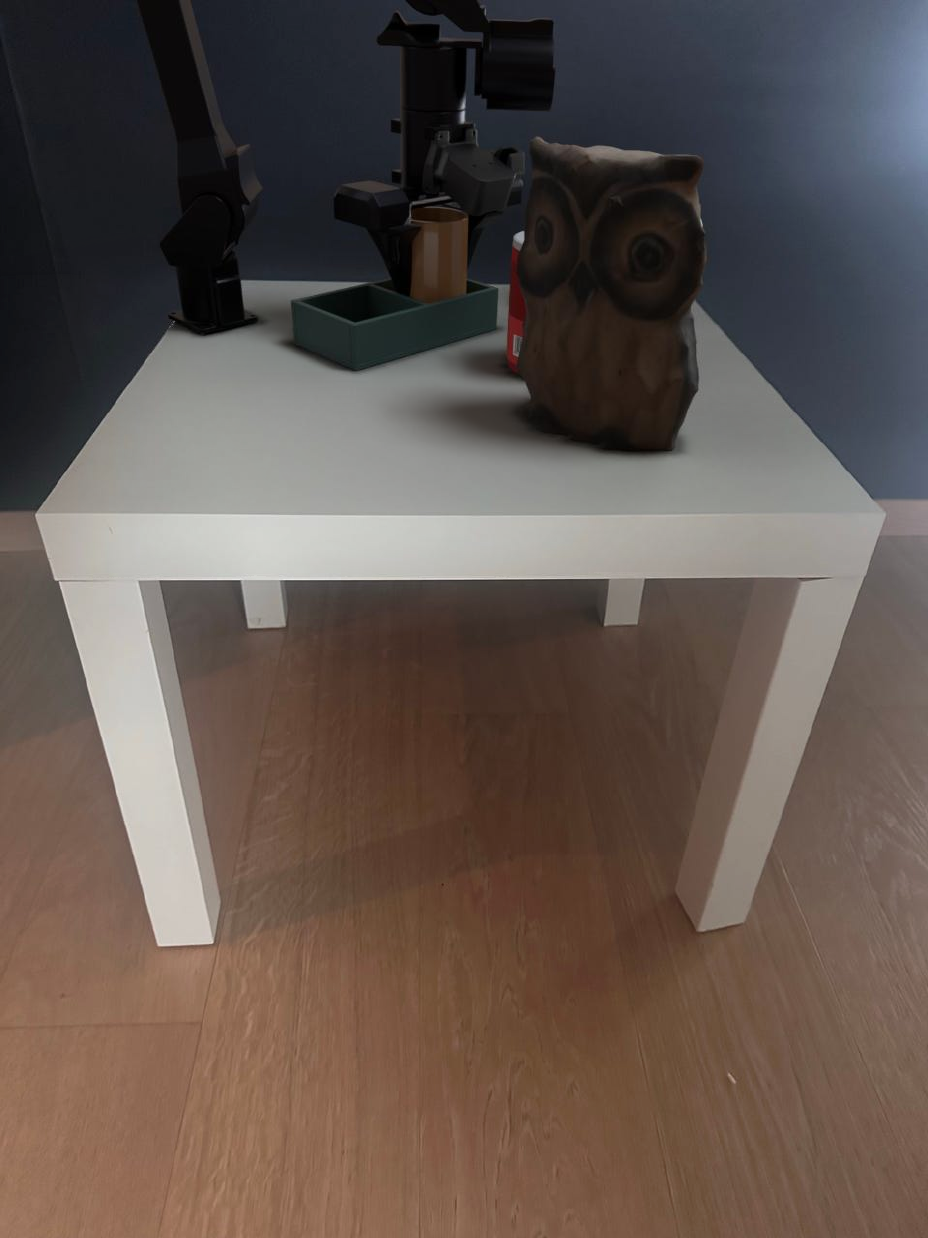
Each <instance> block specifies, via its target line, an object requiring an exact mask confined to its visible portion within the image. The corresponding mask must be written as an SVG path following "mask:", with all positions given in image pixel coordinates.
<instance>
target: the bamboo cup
mask: <svg viewBox="0 0 928 1238" xmlns="http://www.w3.org/2000/svg"><path fill="white" fill-rule="evenodd" d="M411 224H413V225H417V226H420V227H421V230H420V231H419V233H418V234H417V236H416V237H415V239H414V240H413V242H412V274H411V290H410V297H411V298H414V299H417V300H420V301H422V302H425V303H428V304H430V303H434V302H438V301H441V300H445V299H449V298H453V297H457V296H461V295H465V294H466V281H467V278H468V277H467V276H468V275H467V274H468V270H467V248H468V214H467V213H465V212H464V211H461V210H457V209H452V208H444V207H442V206H430V207H424V208H418V209H413V210H411Z"/></svg>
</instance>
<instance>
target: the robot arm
mask: <svg viewBox="0 0 928 1238" xmlns="http://www.w3.org/2000/svg"><path fill="white" fill-rule="evenodd" d="M404 1H405V2H406V3H407V4H408V5H409V6H410V7H411V8H412V9H413V10H415V11H416V12H418V13H420V14H421V15H425V16H430V17H436V16H437V17H438V16H441V15H443V16H444V17H446V18H447V19H448V20H449V21H450V22H451V23H453V24H454V25H455V26H456V27H457V28H459V29H460V30H461V31H462V32H464V33H482V39H480V38H455V37H442V34H441V32H442V31H441V28H442V27H441V23H437V22H436V23H434V22H429V23H428V22H407V21H406V19H405V18H404V17H403V15H402V14H401V12H400V11H398V10H395V11H393V13H392V15H391V18H390V20H389V21H388V24H387V25H386V27H385V28H384V29H383V30H382V31H381V32H379V34H378V35H377V36H376V37H375V42H376V44H377V45H378V46H383V47H398V49H399V118H390V133H394V134H399V141H400V142H399V145H400V147H399V148H400V150H399V151H400V153H399V155H400V168H399V169H398V168H397V169H391V171H390V175H391V177H390V178H391V183H393V184H396V185H400V187H398V186H394V185H390V184H387V183H382V182H379V181H375V180H363V181H357V182H351V183H343V184H339V187H338V188H337V189H336V191H335V193H334V194H333V218H334V220H338V221H341V222H345V223H348V224H350V225H353V226H358V227H360V228H364V229H365V230H366V231H367V232H366V233H368V235H369V237H370V239H371V240H372V243H373V244H374V246H375V248H376V249H377V251H378V253H379V255H380V257H381V259H382V261H383V264H384V265H385V268H386V270H387V272H388V274H389V278H391V279H392V281H393V283H394V286H395V288H396V290H397V292H398V293H400V294H402V295H405V296H408V297H410V290H411V274H412V242H413V240H414V239H415V237H416V236H417V234H418V233H419V231H420V230H421V227H420V226H417V225H413V224H411V210H413V209H418V208H424V207H436V206H440V205H441V207H444V208H452V209H457V210H461V211H464V212H465V213H467V214H468V248H467V271H468V270H469V267H470V266H471V265H470V264H471V262H472V259H473V256H474V253H475V251H476V248H477V245H478V242H479V240H480V238H481V236H482V233H483V232H484V230H485V228H486V227H487V226H489V225H490V224H491V223H492V222H493V221H494V220H495V219H497V218H498V217H502V216H503V214H504V212H505V210H506V207H511V206H516V205H521V204H522V195H523V187H524V183H523V181H524V178H525V172H526V171H525V169H526V168H525V152H524V151H523V150H521V149H520V148H519V147H518V146H516V145H515V144H513V145H506V146H501V147H499V148H497V150H496V151H495V150H494V149H486V150H485V149H483V148H481V147H480V146H479V144H478V130H477V128H476V123H475V122H471V121H466V114H467V113H466V108H467V107H466V106H467V74H468V72H467V71H468V69H467V68H468V50H469V49H471V50H472V49H473V50H475V51H474V76H473V77H474V78H473V80H474V81H473V96H474V97H480V96H481V97H480V98H481V100H485V109H486V110H488V111H516V112H546V113H549V112H551V110H552V105H553V100H554V91H555V78H556V66H555V65H554V52H555V43H554V42H555V40H554V34H555V33H554V32H555V21H554V20H553V19H552V18H550V17H549V18H548V17H535V18H532V19H527V20H526V19H525V20H524V19H523V20H522V19H499V18H497V19H495V18H493V19H492V18H491V19H489V18H488V16H487V14H486V11H487V7H486V5H485V4H482V5H480V3H479V1H478V0H404ZM135 4H136V7H137V10H138V11H137V12H138V14H139V17H140V21H141V25H142V29H143V30H144V34H145V39H146V41H147V45H148V48H149V52H150V55H151V59H152V62H153V65H154V68H155V72H156V77H157V79H158V83H159V85H160V89H161V93H162V96H163V99H164V103H165V106H166V109H167V113H168V117H169V120H170V123H171V126H172V131H173V133H174V140H175V182H176V189H177V197H178V204H179V210H180V215H181V216H180V217H179V219H178V220H177V221H176V222H175V223H174V225H173V226H172V227H171V228H170V229H169V230H168V231H167V233H166V234H165V235H164V236H163V238H161V240H160V241H159V248H160V250H161V251H162V254H163V255H164V257H165V258H166V261H167V263H168V265H169V266H170V267H175V273H176V279H177V287H178V292H179V299H180V306H181V309H179V310H174V311H170V312H168V313H167V316H168V319H170V320H172V322H173V321H174V322H176V323H178V324H179V325H181V326H184V327H187V328H188V329H190V330H193V331H195V332H197V333H198V334H209V333H213V332H217V331H221V330H226V329H229V328H234V327H238V326H242V325H246V324H250V323H251V324H252V323H255V322H258V321H259V315H257V314H256V313H253V312H251V311H248V310H247V309H245V306H244V305H245V303H244V297H243V296H244V295H243V288H242V278H241V276H240V275H241V274H240V266H239V258H238V257H237V253H236V252H235V251H234V250H233V249H234V248H235V247H237V246H238V245H239V243H240V239H241V236H242V235H243V234H244V233H245V231H246V230H247V229H248V228H249V226H250V225H251V224H252V223H253V221H254V220H255V217H256V216H257V213H258V211H259V195H261V193H262V192H263V191H264V187H263V186H262V184H261V183H260V181H259V180H258V178H257V177H258V176H257V175H256V174H257V173H256V172H255V165H254V156H253V149H252V145H251V144H249V143H247V144H245V145H241V146H238V147H236V145H235V143H234V141H233V140H232V138H231V136H230V135H229V133H228V131H227V129H226V127H225V125H224V122H223V120H222V115H221V112H220V108H219V103H218V99H217V96H216V92H215V88H214V85H213V81H212V77H211V74H210V69H209V65H208V63H207V59H206V55H205V51H204V48H203V43H202V39H201V35H200V31H199V28H198V24H197V20H196V17H195V13H194V10H193V6H192V2H191V0H135Z"/></svg>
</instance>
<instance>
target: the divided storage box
mask: <svg viewBox="0 0 928 1238" xmlns="http://www.w3.org/2000/svg"><path fill="white" fill-rule="evenodd" d="M498 306H499V288H498V287H495V286H494V285H491V284H487V283H484V282H481V281H477V280H474V279H471V278H468V277H467V281H466V294H465V295H461V296H457V297H453V298H449V299H445V300H441V301H438V302H434V303H430V304H428V303H425V302H422V301H420V300H417V299H414V298H411V297H408V296H405V295H402V294H400V293H398V292H397V290H396V288H395V286H394V283H393V281H392V279H391V277H388V278H384V279H379V280H375V281H371V282H366V283H361V284H357V285H353V286H349V287H344V288H339V289H335V290H331V291H326V292H322V293H316V294H313V295H309V296H305V297H300V298H296V299H292V300H290V307H291V308H290V309H291V310H290V311H291V322H292V335H293V344H294V345H296V346H299V347H301V348H303V349H305V350H307V351H310V352H312V353H314V354H317V355H319V356H321V357H324V358H326V359H328V360H330V361H333V362H335V363H338V364H340V365H342V366H344V367H347V368H348V369H351V370H354V371H360V370H363V369H367V368H371V367H373V366H377V365H380V364H383V363H387V362H391V361H394V360H398V359H400V358H401V359H402V358H404V357H406V356H411V355H413V354H417V353H420V352H421V353H422V352H424V351H428V350H430V349H433V348H434V349H435V348H437V347H441V346H444V345H449V344H450V343H454V342H455V343H456V342H458V341H461V340H464V339H468V338H472V337H474V336H477V335H478V336H479V335H482V334H484V333H488V332H491V331H494V330H497V329H498V328H497V326H498V324H497V323H498Z"/></svg>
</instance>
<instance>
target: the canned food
mask: <svg viewBox="0 0 928 1238" xmlns="http://www.w3.org/2000/svg"><path fill="white" fill-rule="evenodd" d="M523 242H524V230H522V231H520V232H517V233H515V234H514V235H513V241H512V243H511V244H512V245H511V259H510V273H509V274H510V276H509V277H510V278H509V297H508V313H507V314H508V315H507V316H508V317H507V334H506V337H507V338H506V352H505V353H506V354H505V356H506V360H507V364H508V367H509V368H510V370H512V371H513V372H514V373H516V374H518V375H520V374H519V373H518V371H517V368H516V364H517V360H518V355H519V351H520V347H521V341H522V335H523V331H522V324H523V322H524V319H525V317H526V307H525V301H524V297H523V295H522V292H521V290H520V287H519V283H518V282H519V279H518V276H517V274H516V269H517V258H518V254H519V251H520V249H521V247H522V244H523Z"/></svg>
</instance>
